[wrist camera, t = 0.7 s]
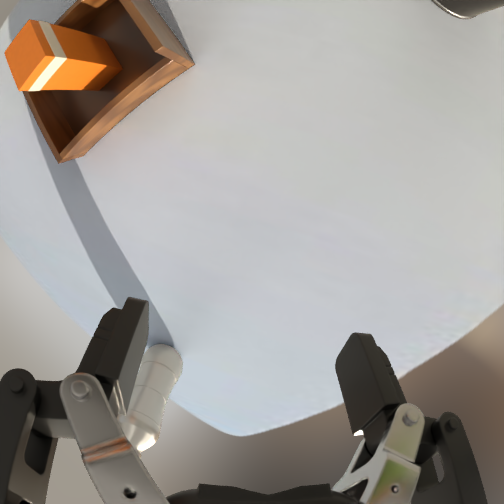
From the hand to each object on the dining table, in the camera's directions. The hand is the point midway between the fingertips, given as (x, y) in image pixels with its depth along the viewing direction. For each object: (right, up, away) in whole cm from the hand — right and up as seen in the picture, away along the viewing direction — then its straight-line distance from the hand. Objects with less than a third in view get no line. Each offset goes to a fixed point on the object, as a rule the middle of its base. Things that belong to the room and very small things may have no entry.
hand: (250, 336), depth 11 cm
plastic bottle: (-13, -13, +32) cm, 37 cm away
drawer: (-17, +25, +14) cm, 34 cm away
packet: (-17, +25, +14) cm, 33 cm away
